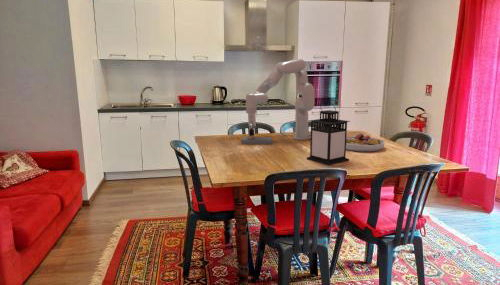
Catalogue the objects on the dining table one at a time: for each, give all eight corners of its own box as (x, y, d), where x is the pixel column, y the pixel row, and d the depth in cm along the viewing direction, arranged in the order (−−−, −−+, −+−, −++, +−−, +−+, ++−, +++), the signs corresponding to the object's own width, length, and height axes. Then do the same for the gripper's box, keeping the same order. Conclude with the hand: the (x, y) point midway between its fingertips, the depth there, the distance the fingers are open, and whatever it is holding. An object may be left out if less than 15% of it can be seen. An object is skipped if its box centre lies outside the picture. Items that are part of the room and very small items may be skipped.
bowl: (387, 153, 230) (388, 141, 229) (338, 152, 236) (339, 140, 235) (380, 144, 259) (381, 133, 257) (337, 142, 265) (337, 132, 263)
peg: (254, 141, 268) (254, 128, 266) (254, 143, 264) (254, 129, 262) (248, 142, 268) (248, 128, 266) (248, 143, 264) (248, 129, 262)
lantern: (348, 160, 213) (351, 100, 206) (328, 165, 203) (331, 102, 196) (326, 155, 227) (328, 98, 220) (306, 159, 217) (308, 100, 210)
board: (271, 141, 271) (271, 137, 271) (272, 144, 261) (272, 139, 260) (242, 141, 272) (242, 137, 271) (241, 144, 261) (241, 139, 261)
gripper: (256, 112, 253) (256, 136, 257) (256, 109, 270) (257, 132, 274) (245, 112, 253) (246, 136, 257) (246, 109, 270) (247, 132, 274)
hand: (251, 134), depth 265 cm, fingers open, 9 cm apart
